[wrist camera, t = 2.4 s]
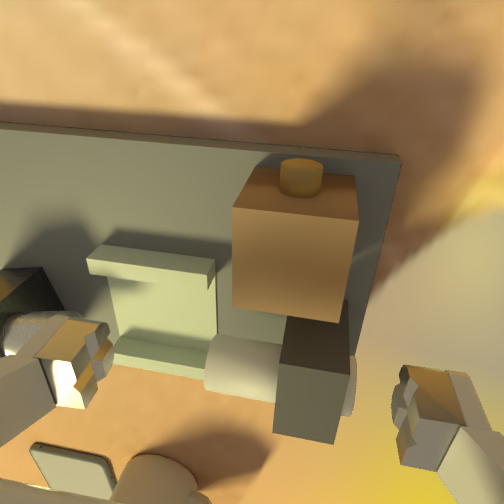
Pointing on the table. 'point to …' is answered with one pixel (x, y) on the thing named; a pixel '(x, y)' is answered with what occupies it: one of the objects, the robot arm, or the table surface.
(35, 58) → the table surface
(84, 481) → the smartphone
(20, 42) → the table surface
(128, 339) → the bench
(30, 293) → the shaft right
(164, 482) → the cup
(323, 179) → the coupler
